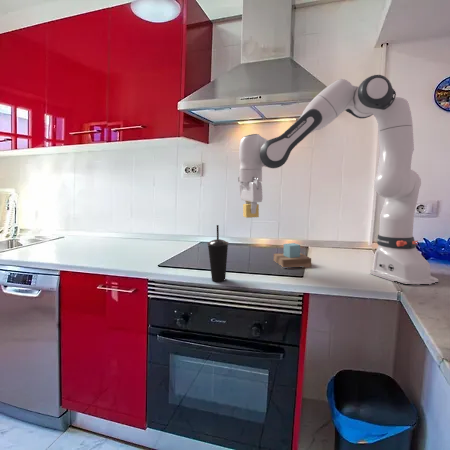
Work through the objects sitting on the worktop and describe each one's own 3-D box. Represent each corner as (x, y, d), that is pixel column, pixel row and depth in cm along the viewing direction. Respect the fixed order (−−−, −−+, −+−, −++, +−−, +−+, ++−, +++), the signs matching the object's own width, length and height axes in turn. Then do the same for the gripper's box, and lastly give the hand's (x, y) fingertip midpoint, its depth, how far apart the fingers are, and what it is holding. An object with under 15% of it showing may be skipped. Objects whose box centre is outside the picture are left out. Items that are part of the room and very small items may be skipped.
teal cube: (300, 256, 134) (300, 245, 133) (289, 257, 132) (289, 246, 131) (293, 254, 138) (293, 243, 138) (283, 255, 137) (283, 243, 136)
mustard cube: (258, 217, 124) (258, 204, 124) (246, 217, 124) (246, 204, 123) (255, 216, 129) (255, 203, 129) (243, 216, 128) (243, 204, 128)
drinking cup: (206, 283, 111) (205, 226, 109) (209, 277, 119) (207, 223, 116) (228, 283, 111) (227, 226, 108) (229, 276, 119) (228, 223, 116)
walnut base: (311, 268, 131) (311, 258, 130) (283, 269, 129) (283, 260, 128) (299, 261, 143) (299, 252, 142) (273, 262, 140) (273, 253, 140)
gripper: (266, 176, 115) (266, 214, 117) (251, 177, 135) (252, 210, 137) (249, 176, 114) (250, 215, 116) (237, 178, 134) (237, 211, 135)
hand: (251, 212), depth 126 cm, fingers closed on mustard cube, 5 cm apart
